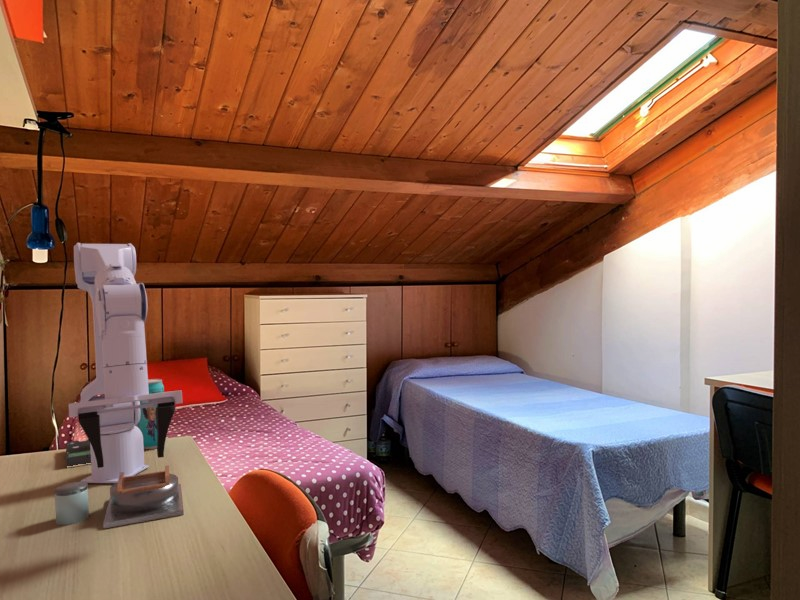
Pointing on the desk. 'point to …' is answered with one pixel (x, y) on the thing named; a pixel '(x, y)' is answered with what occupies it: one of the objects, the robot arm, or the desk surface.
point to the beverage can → (150, 417)
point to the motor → (143, 498)
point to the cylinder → (71, 503)
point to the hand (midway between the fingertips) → (131, 461)
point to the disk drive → (78, 452)
